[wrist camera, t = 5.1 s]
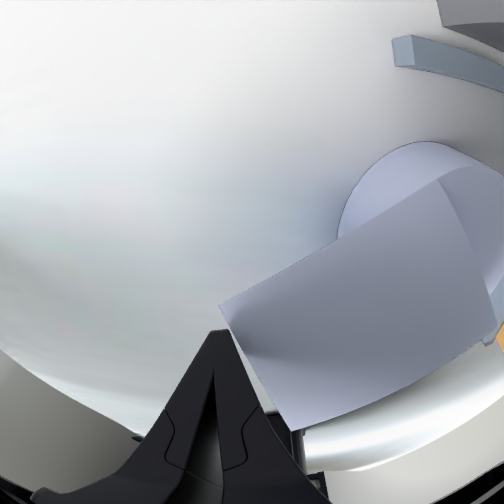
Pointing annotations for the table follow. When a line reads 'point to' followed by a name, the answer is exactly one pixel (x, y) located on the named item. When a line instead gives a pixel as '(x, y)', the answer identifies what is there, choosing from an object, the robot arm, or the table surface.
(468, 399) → the table surface
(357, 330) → the wedge on round base
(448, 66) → the press bed
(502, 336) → the tan wooden cube
